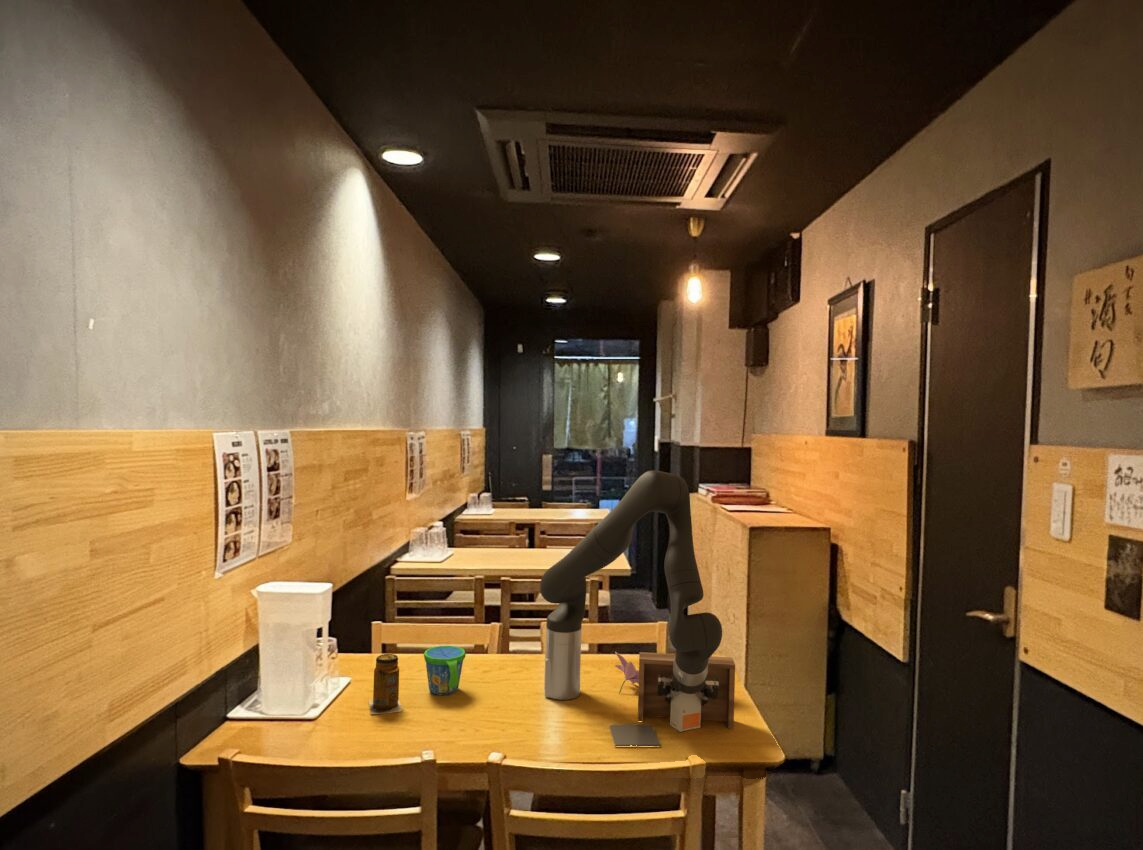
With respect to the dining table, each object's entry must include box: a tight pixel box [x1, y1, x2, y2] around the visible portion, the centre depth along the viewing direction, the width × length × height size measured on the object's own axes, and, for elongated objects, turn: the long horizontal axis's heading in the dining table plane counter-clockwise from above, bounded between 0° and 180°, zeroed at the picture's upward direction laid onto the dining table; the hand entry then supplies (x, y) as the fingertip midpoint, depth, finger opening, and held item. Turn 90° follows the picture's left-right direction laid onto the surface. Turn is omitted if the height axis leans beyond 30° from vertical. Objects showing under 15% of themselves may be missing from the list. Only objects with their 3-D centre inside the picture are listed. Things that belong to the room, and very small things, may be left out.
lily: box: [614, 651, 639, 694], centre depth 179 cm, size 12×12×10 cm
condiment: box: [368, 653, 403, 715], centre depth 165 cm, size 7×8×12 cm
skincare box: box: [669, 693, 702, 733], centre depth 158 cm, size 6×4×12 cm
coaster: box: [609, 723, 661, 747], centre depth 152 cm, size 10×10×1 cm
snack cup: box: [423, 645, 466, 696], centre depth 176 cm, size 16×11×10 cm
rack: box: [637, 651, 736, 730], centre depth 162 cm, size 5×22×15 cm, turn 84°
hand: (685, 700), depth 160 cm, fingers closed on skincare box, 7 cm apart
